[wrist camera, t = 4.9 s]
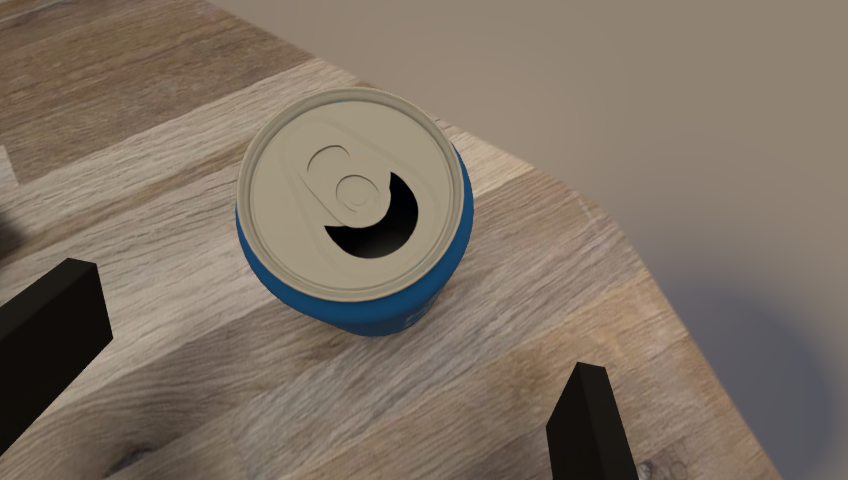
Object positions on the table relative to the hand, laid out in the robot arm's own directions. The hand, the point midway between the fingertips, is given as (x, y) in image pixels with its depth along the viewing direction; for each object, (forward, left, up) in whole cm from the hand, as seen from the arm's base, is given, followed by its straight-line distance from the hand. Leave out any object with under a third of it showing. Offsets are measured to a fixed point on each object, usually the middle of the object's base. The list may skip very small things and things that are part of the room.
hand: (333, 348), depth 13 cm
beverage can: (0, -4, -10) cm, 10 cm away
